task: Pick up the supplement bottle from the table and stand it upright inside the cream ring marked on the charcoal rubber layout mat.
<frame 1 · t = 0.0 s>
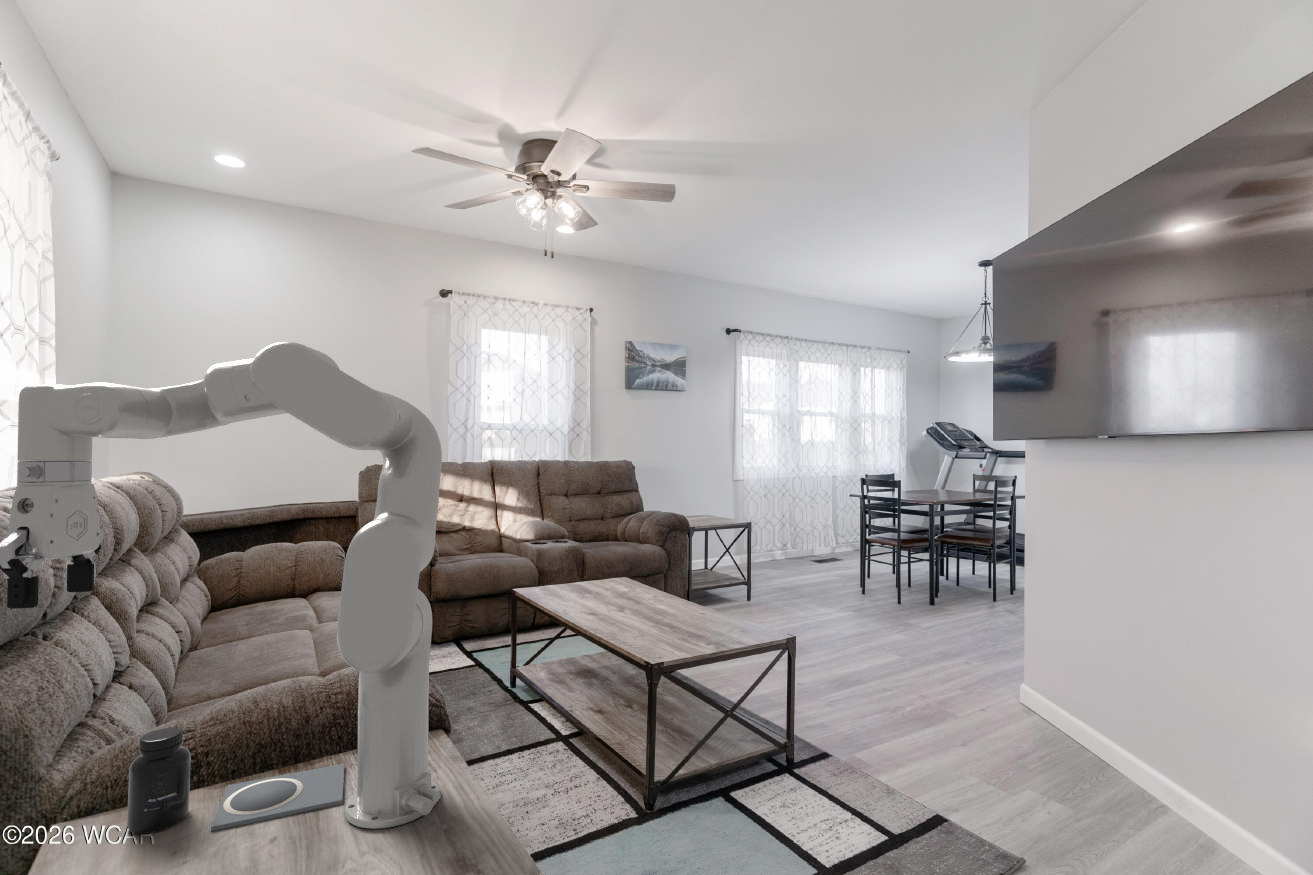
hand: (53, 599, 88), 31 cm above the table, tool pointing down, fingers open, 9 cm apart
layout mat: (283, 796, 95), on the table
supplement bottle: (159, 822, 89), on the table
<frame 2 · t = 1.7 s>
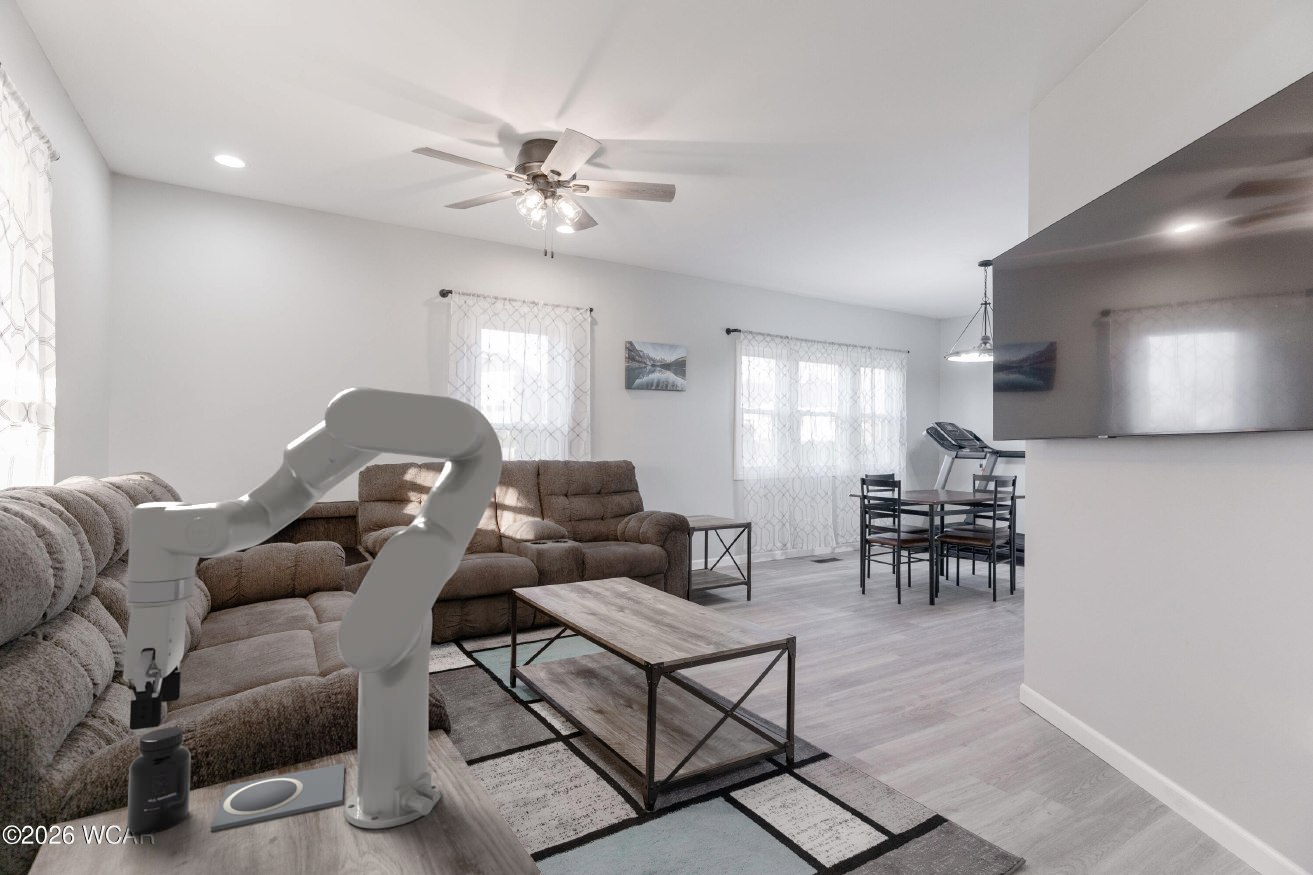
hand: (156, 713, 89), 15 cm above the table, tool pointing down, fingers open, 9 cm apart
nothing on the table moved.
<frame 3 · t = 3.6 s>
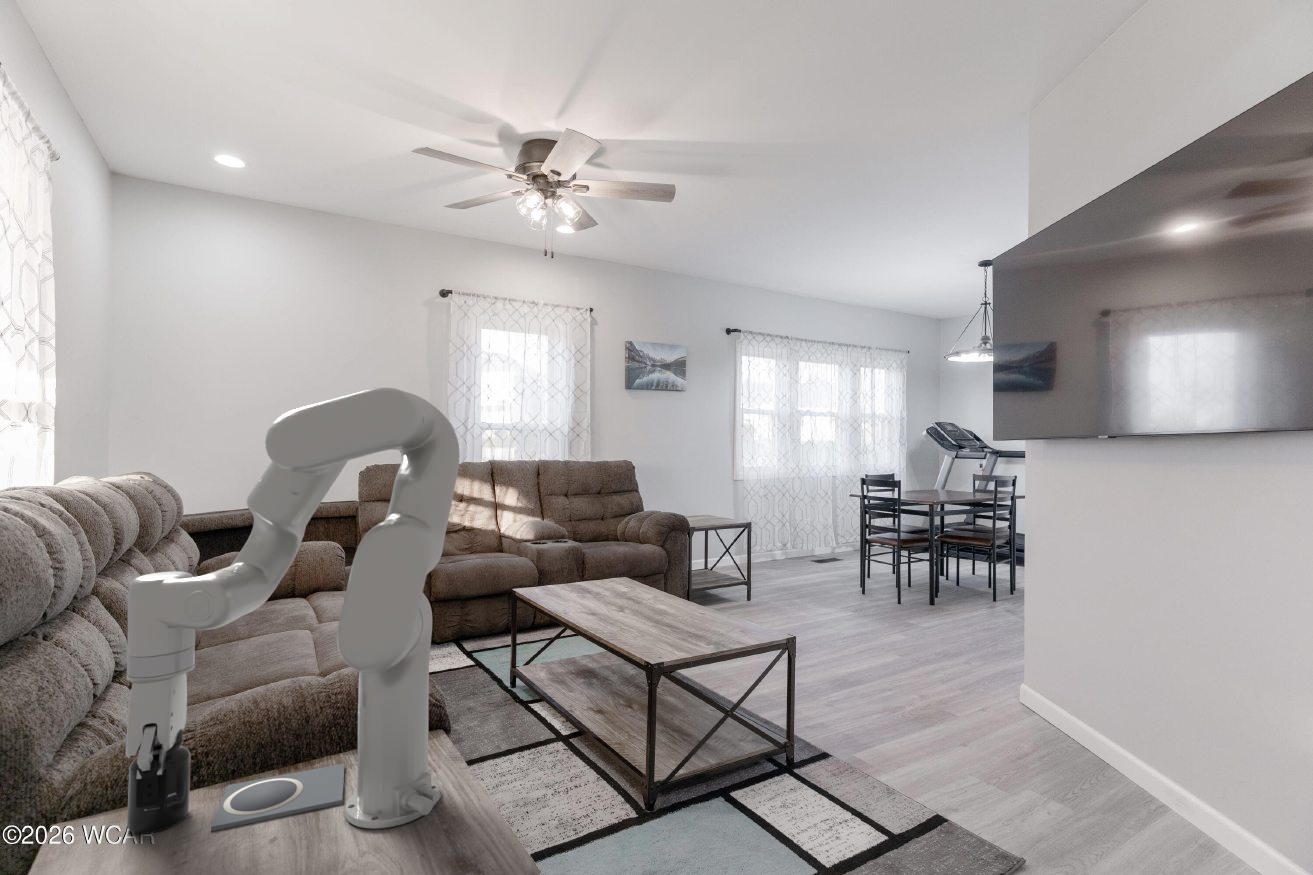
hand: (159, 789, 89), 4 cm above the table, tool pointing down, fingers closed on supplement bottle, 6 cm apart
supplement bottle: (159, 822, 89), on the table, touching gripper
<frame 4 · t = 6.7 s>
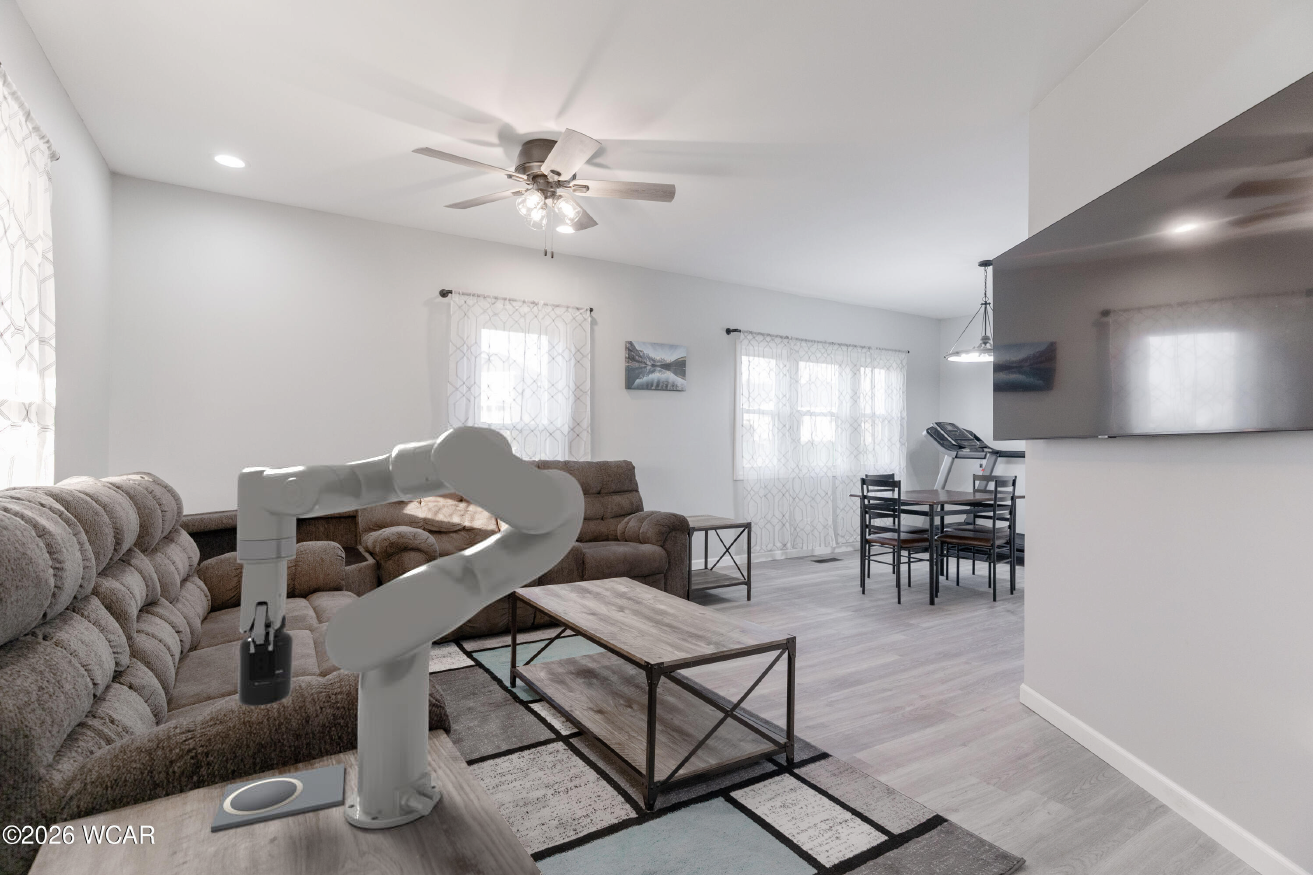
hand: (265, 669, 95), 19 cm above the table, tool pointing down, fingers closed on supplement bottle, 6 cm apart
supplement bottle: (265, 699, 95), point 15 cm above the table, touching gripper
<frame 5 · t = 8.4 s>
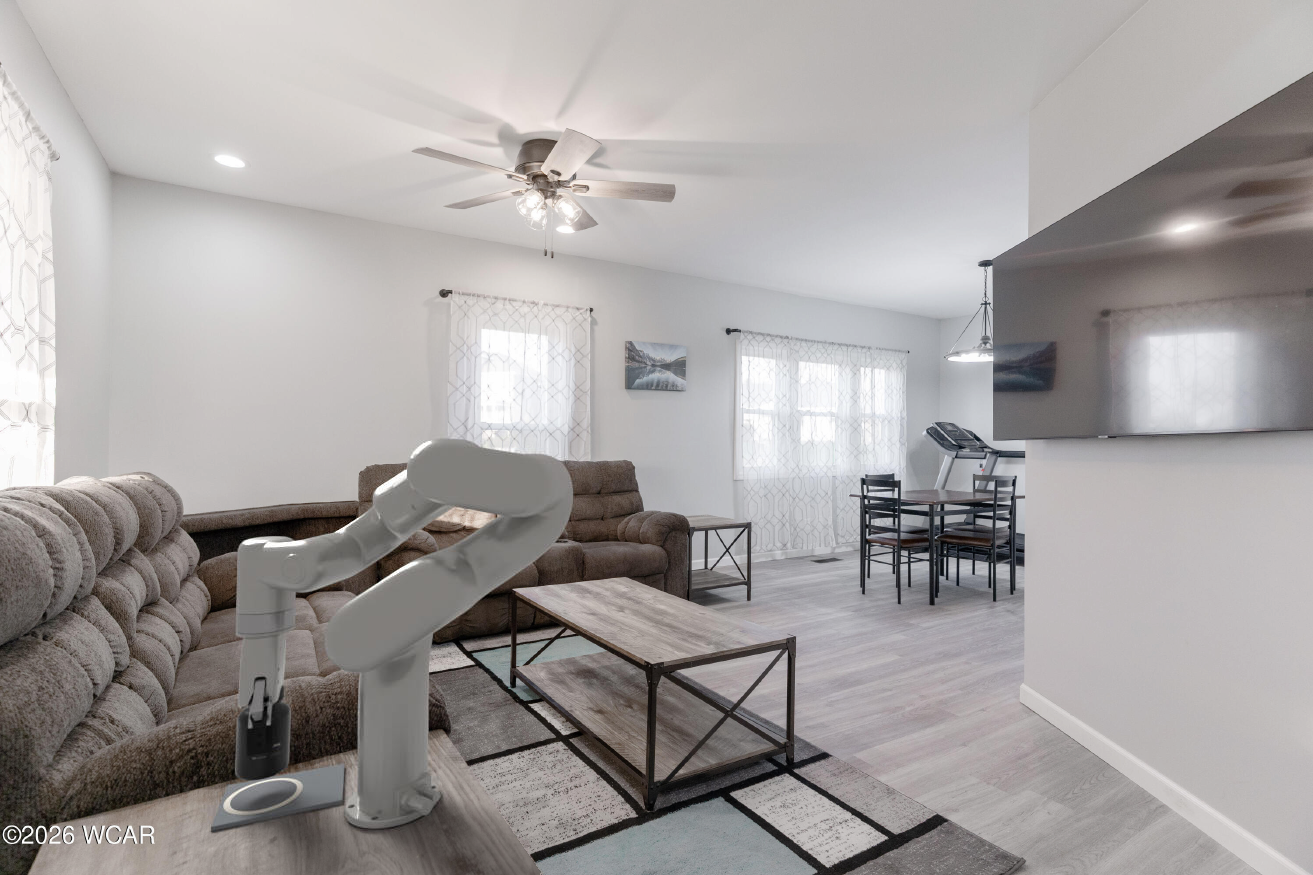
hand: (263, 741, 94), 9 cm above the table, tool pointing down, fingers closed on supplement bottle, 6 cm apart
supplement bottle: (262, 771, 94), point 4 cm above the table, touching gripper
when the fingers open (6 cm above the table, at t = 9.8 s): supplement bottle drops 1 cm, resting on layout mat.
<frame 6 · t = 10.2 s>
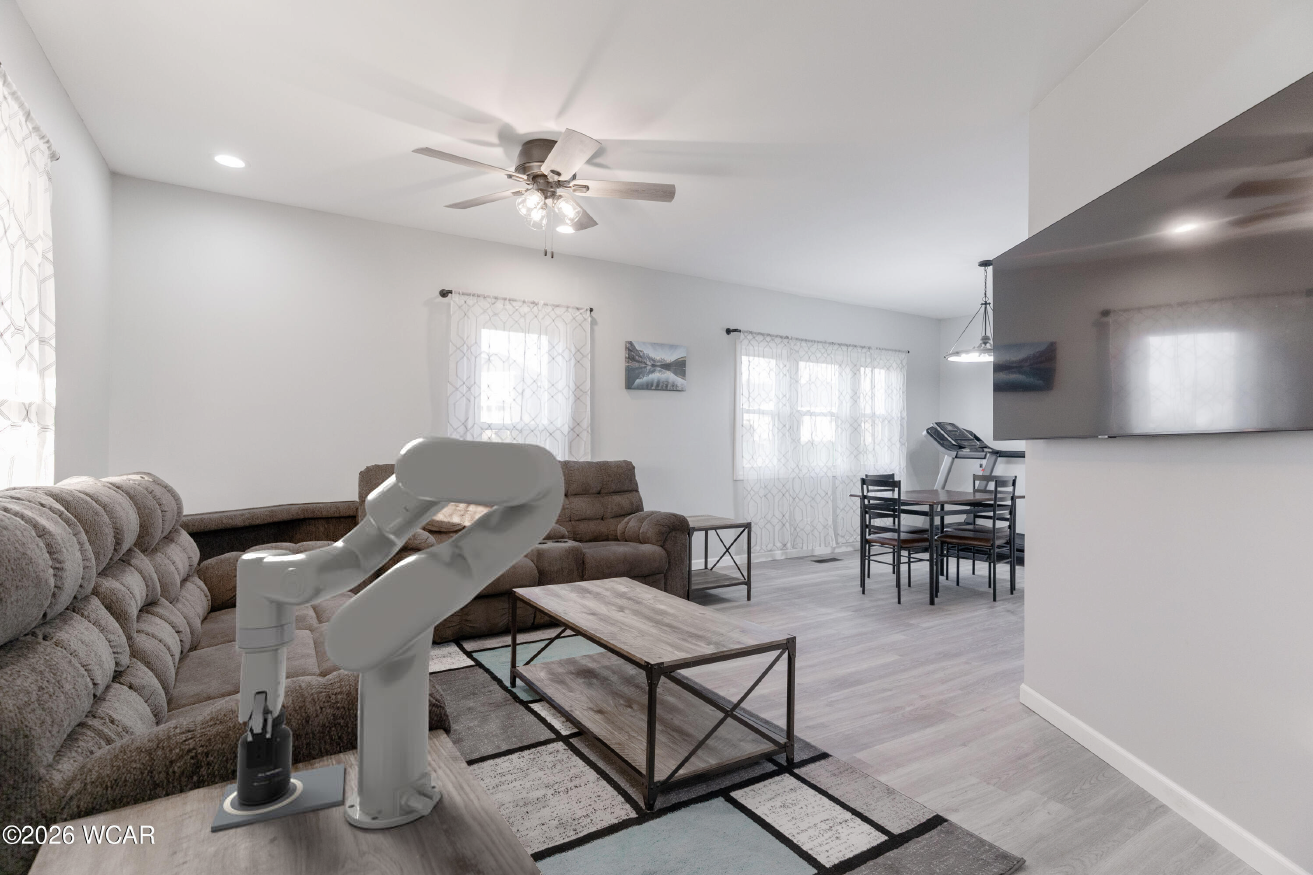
hand: (264, 751, 94), 7 cm above the table, tool pointing down, fingers open, 9 cm apart
supplement bottle: (264, 796, 94), point 1 cm above the table, touching layout mat
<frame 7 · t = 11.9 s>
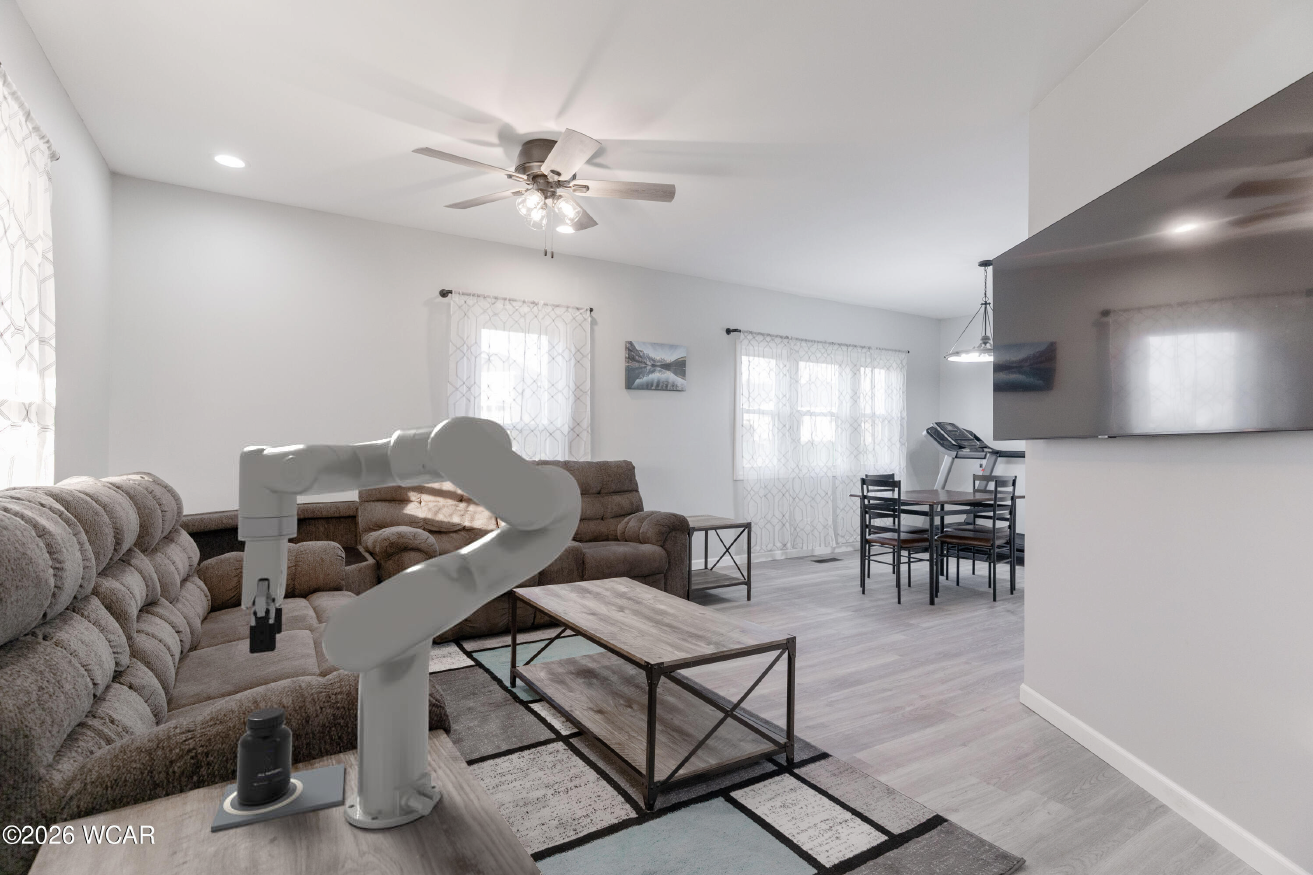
hand: (266, 642, 95), 23 cm above the table, tool pointing down, fingers open, 9 cm apart
nothing on the table moved.
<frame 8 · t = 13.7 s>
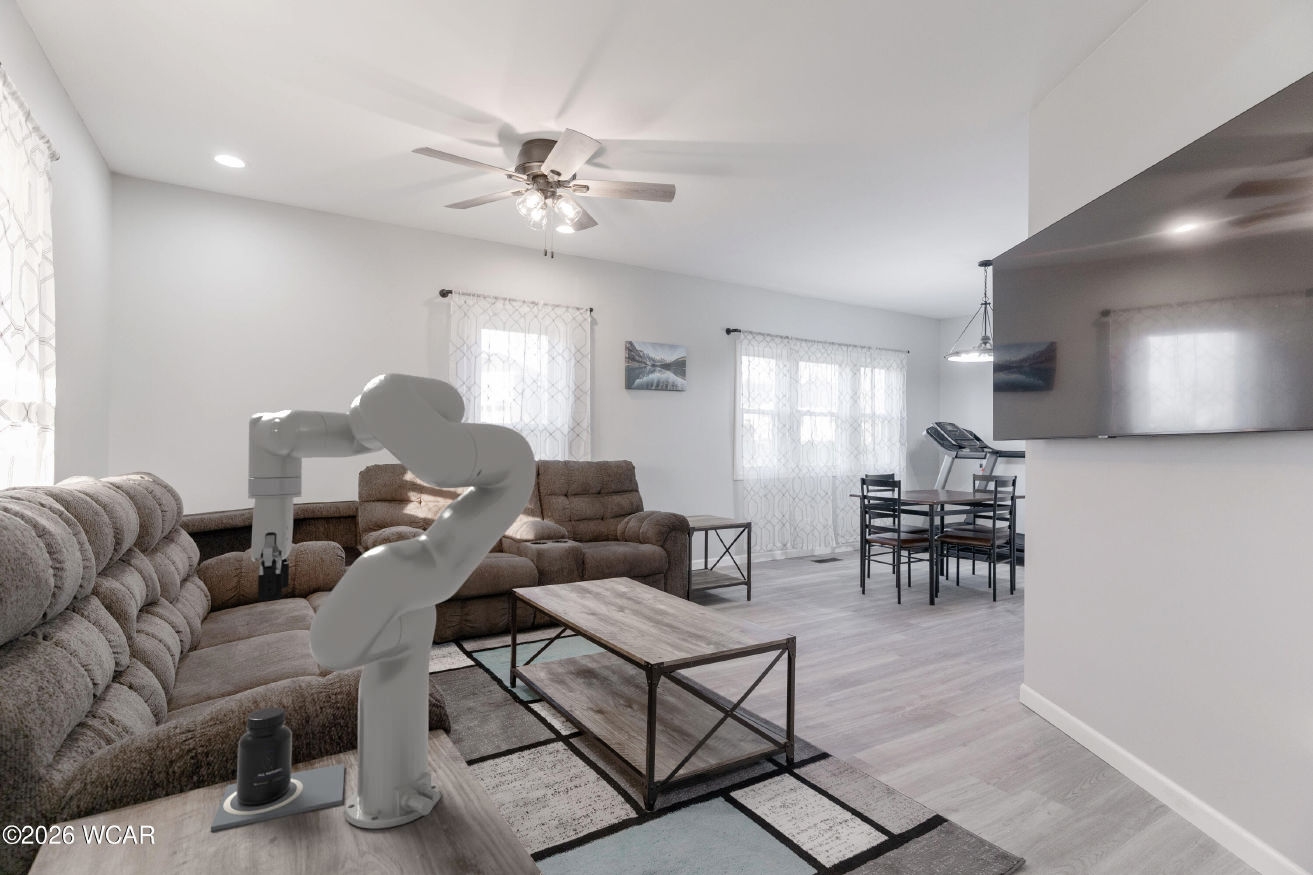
hand: (274, 593, 104), 28 cm above the table, tool pointing down, fingers open, 9 cm apart
nothing on the table moved.
at the end: supplement bottle 0.3 cm from the target spot, point 0.6 cm above the table; supplement bottle tilted 0°; the gripper is holding nothing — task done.
